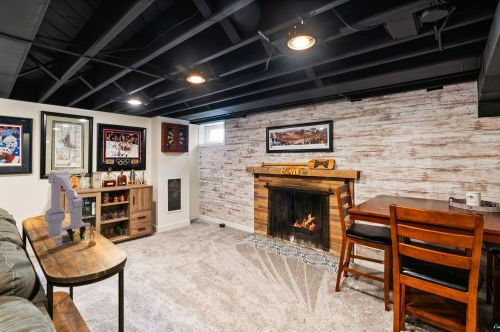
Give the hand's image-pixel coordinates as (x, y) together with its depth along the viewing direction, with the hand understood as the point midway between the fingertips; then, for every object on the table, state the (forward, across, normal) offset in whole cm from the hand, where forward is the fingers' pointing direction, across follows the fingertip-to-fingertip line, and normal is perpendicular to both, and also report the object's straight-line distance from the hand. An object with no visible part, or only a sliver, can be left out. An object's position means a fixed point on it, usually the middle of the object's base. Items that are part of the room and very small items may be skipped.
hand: (76, 240), depth 147 cm
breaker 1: (0, -5, +4) cm, 6 cm away
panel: (+2, -2, +6) cm, 7 cm away
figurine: (+2, +4, -14) cm, 14 cm away
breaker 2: (0, 0, +12) cm, 12 cm away
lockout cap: (0, 0, 0) cm, 0 cm away
